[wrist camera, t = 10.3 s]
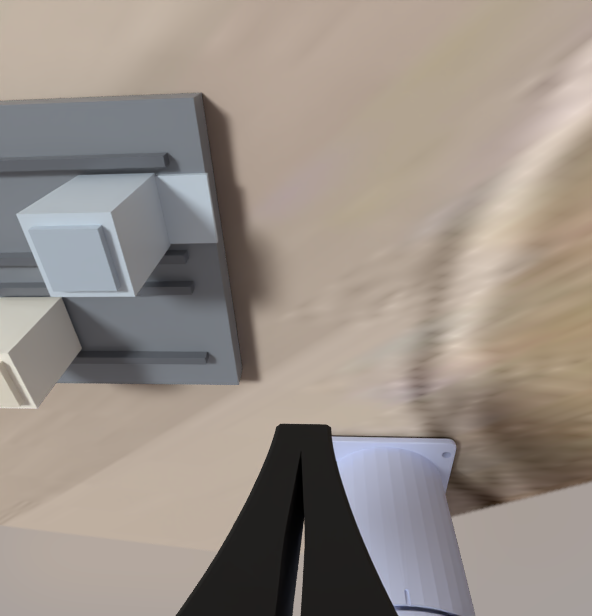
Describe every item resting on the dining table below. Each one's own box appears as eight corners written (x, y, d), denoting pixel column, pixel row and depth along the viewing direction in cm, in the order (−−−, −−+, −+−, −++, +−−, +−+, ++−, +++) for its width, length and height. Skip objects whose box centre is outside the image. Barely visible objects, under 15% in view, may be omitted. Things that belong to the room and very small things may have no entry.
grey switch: (170, 245, 18) (132, 301, 14) (100, 246, 18) (46, 301, 15) (154, 172, 16) (106, 215, 13) (78, 175, 17) (10, 218, 13)
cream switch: (81, 348, 22) (33, 414, 18) (24, 347, 22) (-36, 412, 18) (61, 297, 20) (3, 358, 16) (-1, 297, 20) (-72, 357, 17)
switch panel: (244, 369, 23) (239, 391, 22) (13, 367, 24) (-6, 389, 23) (204, 92, 16) (192, 99, 15) (-126, 105, 17) (-166, 113, 16)
